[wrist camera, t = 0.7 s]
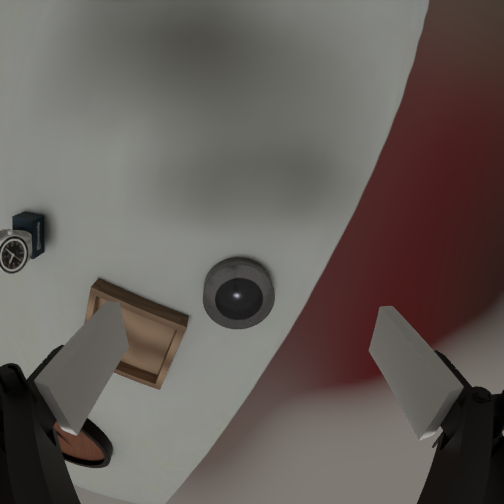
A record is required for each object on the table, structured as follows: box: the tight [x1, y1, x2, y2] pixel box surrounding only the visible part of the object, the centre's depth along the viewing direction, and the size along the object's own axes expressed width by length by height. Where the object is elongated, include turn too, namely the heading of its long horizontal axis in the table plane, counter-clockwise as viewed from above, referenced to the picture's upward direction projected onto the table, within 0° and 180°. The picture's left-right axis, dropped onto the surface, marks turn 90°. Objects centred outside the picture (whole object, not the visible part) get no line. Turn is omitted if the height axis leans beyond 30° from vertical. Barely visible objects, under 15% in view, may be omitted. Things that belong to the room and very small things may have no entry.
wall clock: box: [54, 418, 113, 468], centre depth 43 cm, size 31×4×31 cm
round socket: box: [203, 258, 275, 329], centre depth 35 cm, size 9×9×3 cm
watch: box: [0, 212, 44, 274], centre depth 25 cm, size 6×8×11 cm
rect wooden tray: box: [85, 278, 188, 390], centre depth 36 cm, size 14×14×3 cm
